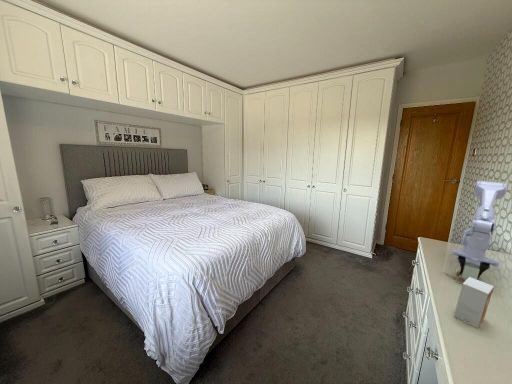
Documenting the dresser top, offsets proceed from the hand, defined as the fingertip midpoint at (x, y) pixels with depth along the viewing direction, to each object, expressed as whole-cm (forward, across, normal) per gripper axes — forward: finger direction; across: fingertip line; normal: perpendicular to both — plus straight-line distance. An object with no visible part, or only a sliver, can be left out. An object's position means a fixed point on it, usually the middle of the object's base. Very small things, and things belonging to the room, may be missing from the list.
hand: (469, 274), depth 95 cm
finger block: (+2, 0, 0) cm, 2 cm away
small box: (+4, 0, -30) cm, 30 cm away
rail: (+3, 0, +4) cm, 5 cm away
